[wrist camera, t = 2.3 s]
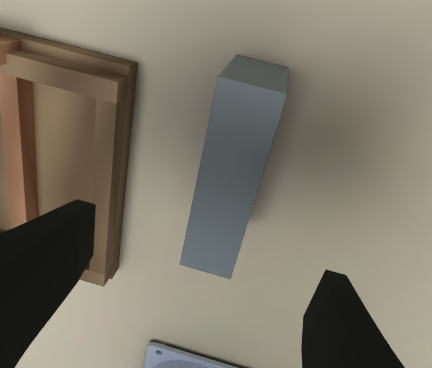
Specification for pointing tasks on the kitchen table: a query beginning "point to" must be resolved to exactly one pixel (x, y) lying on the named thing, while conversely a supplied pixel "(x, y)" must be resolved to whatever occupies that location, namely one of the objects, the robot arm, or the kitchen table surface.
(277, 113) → the blue-gray rectangular block
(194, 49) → the kitchen table surface
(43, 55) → the rack
